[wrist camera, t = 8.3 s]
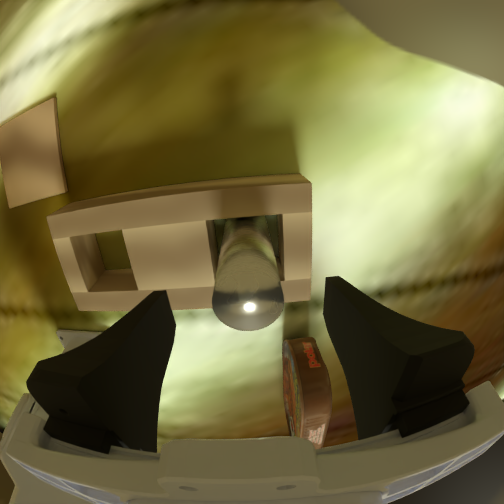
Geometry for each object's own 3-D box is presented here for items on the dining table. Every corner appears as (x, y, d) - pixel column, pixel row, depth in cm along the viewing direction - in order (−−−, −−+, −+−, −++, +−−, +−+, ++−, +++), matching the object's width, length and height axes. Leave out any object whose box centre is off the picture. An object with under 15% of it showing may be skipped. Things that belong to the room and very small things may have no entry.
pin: (271, 239, 20) (290, 321, 12) (232, 249, 21) (225, 336, 12) (261, 200, 19) (275, 263, 11) (220, 212, 20) (201, 282, 11)
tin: (281, 320, 24) (294, 397, 16) (316, 316, 24) (340, 390, 16) (283, 409, 30) (290, 467, 23) (308, 406, 30) (319, 463, 23)
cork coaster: (68, 191, 18) (65, 192, 18) (12, 207, 18) (9, 208, 18) (56, 97, 15) (53, 97, 14) (-1, 128, 15) (-3, 128, 14)
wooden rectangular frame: (301, 274, 22) (310, 300, 19) (95, 288, 22) (79, 310, 19) (299, 173, 18) (311, 183, 15) (70, 202, 19) (46, 216, 15)
